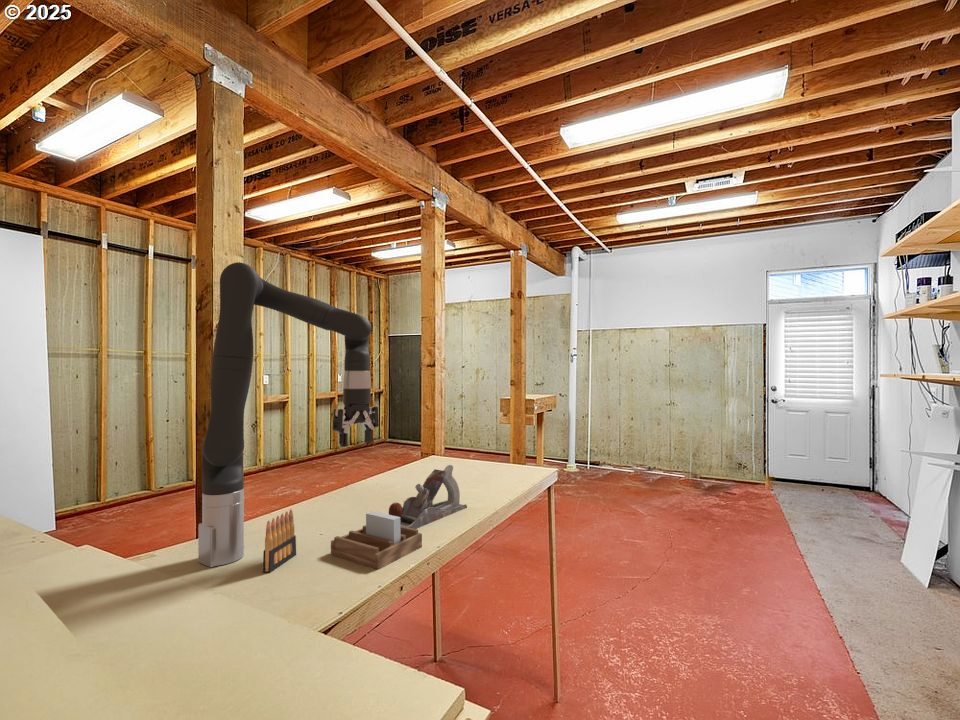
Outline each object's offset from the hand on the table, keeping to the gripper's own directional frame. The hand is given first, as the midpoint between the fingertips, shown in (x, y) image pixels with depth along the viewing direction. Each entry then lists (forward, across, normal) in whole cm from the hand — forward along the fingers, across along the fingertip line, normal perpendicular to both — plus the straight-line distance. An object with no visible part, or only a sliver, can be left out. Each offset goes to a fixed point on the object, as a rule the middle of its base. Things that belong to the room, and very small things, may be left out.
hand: (356, 444), depth 127 cm
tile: (+25, -2, -13) cm, 28 cm away
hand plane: (+27, +25, -4) cm, 37 cm away
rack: (+26, -2, -11) cm, 29 cm away
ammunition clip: (+27, -20, +4) cm, 34 cm away
